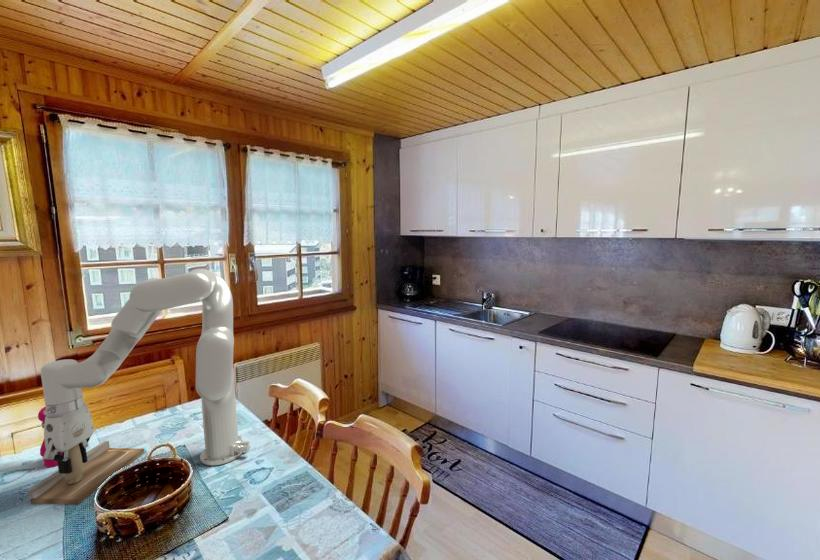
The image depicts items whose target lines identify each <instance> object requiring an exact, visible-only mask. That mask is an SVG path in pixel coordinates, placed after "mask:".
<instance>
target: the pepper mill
mask: <svg viewBox="0 0 820 560" xmlns="http://www.w3.org/2000/svg"><path fill="white" fill-rule="evenodd" d="M45 410H46V406H44V407H42V408H41V409H40V410H39V412H38V413H37V418H38V420H39V421H40V422H41V428H42V429H44V423H45V417H46V416H47V415H44V413H43V412H44V411H45ZM45 451H46V447H45V440H44V439H43V441H42V443H41V445H40V449H39V455H40V456H41V457H42V458H43V456H44V454H45ZM54 452H55V450H54ZM60 455H62V452H61V454H60ZM43 466H44V467H45V466H46V467H45V468H52V467H58V462H57V461H54V460H51V459H43Z"/></svg>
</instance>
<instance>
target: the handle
mask: <svg viewBox="0 0 820 560" xmlns="http://www.w3.org/2000/svg"><path fill="white" fill-rule="evenodd" d="M82 433H83V429H81V430H79V431H78V432H76V433H74V436H73V437H74V438H75V437H78V436H80V435H81V434H82ZM68 459H71V465H72V472H71V473H70V474H65V476H66V478H67V480H68V484H73V483H78V482H79V481H81V480H82V478H83V475H82V473H83V462H82V456H81V452H80V447H79V444H78V445H76V446H75V447H73V448H71V449H70V450H68Z"/></svg>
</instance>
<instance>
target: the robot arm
mask: <svg viewBox="0 0 820 560" xmlns="http://www.w3.org/2000/svg"><path fill="white" fill-rule="evenodd" d="M200 301H201V302H202V312H201V316H202V324H201V327H202V328H201V334H200V337H199V340H198V341H197V343H196V350H195V351H196V353H195V391H196V392H197V394H198V395H199V396H200V398H201V412H202V413H201V414H202V425H203V427H202V428H203V438H204V448H205V449H204V450H202V452H200V455H199V460H200V462H201V463H202V464H203V465H205V466H220V465H224V464H227V463H229V462H233V461H235V460H236V459H238V458H239V457H240V456H241V455H242V454H243V452H249V451H250V448H251V446H250V441H248V440H247V441H246V440H245V441H243V440H242V436H241V435H239V431H238V429H239V428H238V418H237V402H236V400H237V399H236V381H235V379H236V377H235V376H236V375H235V369H234V348H235V347H234V345H235V337H234V299H233V294H232V292H231V288H230V286H229V285H228V283H227V282H226V280H224V278H223V277H221V276H220V275H219V274H217V273H215V272H214V271H212V270H209V269H205V268H195V269H191V270H190V271H188V272H187V273H181V274H178V275H173V276H168V277H163V278H156V277H155V278H152V277H151V278H148V279H145V280H142V281H141V282H138V283H137V284H135V285H134V286H133V288H132V289H131V290H130V293H129V298H128V300H127V301H126V302H125V304H124V305H123V306H122V307H121V309H120V310H119V312H117V314H116V315H115V316H114V318H113V319H112V321H111V323H110V326H111V329H110V330H109V333H108V334H107V336H106V337H105V339H103V341H102V343H101V344H100V345H99V347H98V348H97V349H96V350H95V351H94V353H93V354H92V355H91V356H89V357H88V358H86V359H85V360H83V361H80V362H78V361H77V360H76V359H72V358H70V359H69V358H68V359H59V360H55V361H51V362H48V363H46V364H44V365H43V366H42V367H41V368H40V377H41V385H42V392H43V398H44V405H45V406H44V407H46V410H45V411H44V412H43V413H44V415H47V416H46V417H45V423H44V428H43V440H45V447H46V451H45V454H44V456H43V457H42V460H44V459H51V460H54V461H57V462H58V466H57V468H58V470H59V473H60V474H70V473H71V472H72V465H71V459H68V450H70V449H71V448H73V447H75V446H76V445H78V444H79V447H80V452H81V456H82V462H83V463H86V462H87V453H86V452H87V448H88V447H89V442H90V439H91V437H92V436H93V435H94V433H95V429H94V427H95V426H94V423H93V422H94V421H93V417H92V414H91V410H90V409H89V407H88V405H87V403H86V402H85V401H84V395H83V394H84V393H83V389H85V388H86V389H88V388H96V387H99V386H102V385H103V384H104V383H105V382H107V381H108V379H110V378H111V377H112V375H113V374H115V372H117V370H118V369H119V368H120V366H121V365H122V364H123V363H124V361H125V359H127V357H128V356H129V354H130V353H131V352H132V350H133V349H134V348H135V346H136V345H137V344H138V342H139V341H140V340H142V338H143V337H144V335H145V334H146V332H148V330H149V328H150V327H151V326H152V324H153V323H154V322H155V320H156V319H157V317H159V315H160V314H161V313H162V311H163V310H169V309H173V308H177V307H181V306H186V305H190V304H193V303H198V302H200ZM81 429H83V433H82V434H81V435H80V436H78V437H75V438H74V437H73V436H74V433H76V432H78V431H79V430H81ZM54 450H55V452H54ZM61 452H62V455H60V454H61Z"/></svg>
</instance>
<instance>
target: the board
mask: <svg viewBox="0 0 820 560" xmlns="http://www.w3.org/2000/svg"><path fill="white" fill-rule="evenodd" d="M86 453H87V462H86V463H83V473H82V475H83V478H82V480H81V481H79V482H78V483H73V484H68V480H67V478H66V476H65V474H60V473H59V469H58V470H56V471H55V472H54V473H52V474H50V475H49V476H47V477H46V478H45V479H43V480H41V481H40V482H38V483H37V484H35V485H33V486H32V487H30V488H29V489H28V494H29V500H30V504H38V505H39V504H40V505H45V504H46V505H79V504H81V503H82V502H83V501H85V500H86V499H88V498H89V497H90V496H91V495H92V494H94V493H95V492H97V490H98V489H97V488H98V487H99V486H100V485H101V484H102V483H103V482H104V481H105V480H106V479H107V478H108V477H109V476H111V475H112V474H113V473H114V472H116V471H118V470H120V469H121V468H123V467H125V466H127V465H128V466H130V465H131V464H132V463H134V461H136V460H137V459H138V458H140V457H141V456H142V455H143V454H145V449H144V448H137V447H136V448H131V447H130V448H127V447H126V448H125V447H124V448H123V447H117V448H116V447H110V441H109V440H103V441H102V442H100V443H99V444H97V445H96V446H94V447H93V448H91V449H90V450H89V449H88V450H87V451H86ZM129 464H130V465H129ZM128 466H127V467H128ZM84 499H85V500H84ZM80 502H81V503H80Z"/></svg>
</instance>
